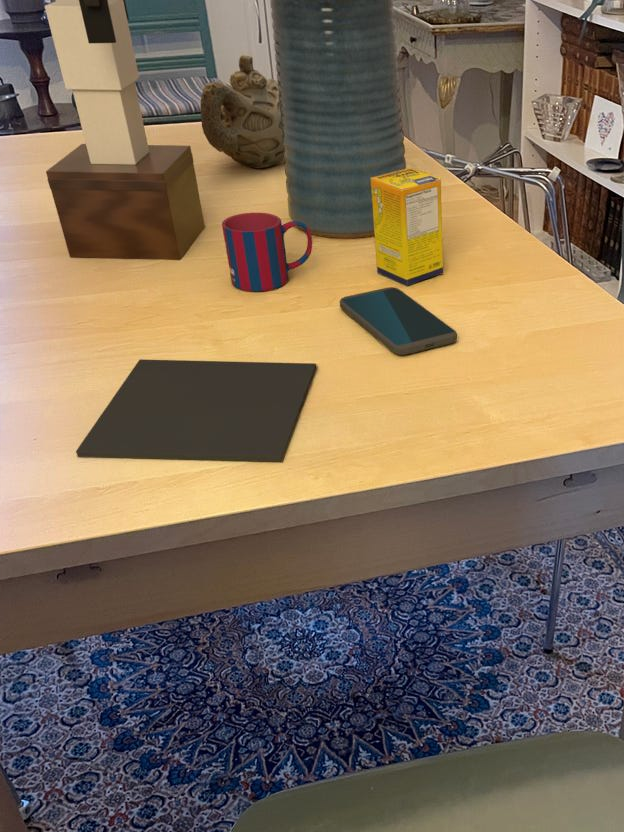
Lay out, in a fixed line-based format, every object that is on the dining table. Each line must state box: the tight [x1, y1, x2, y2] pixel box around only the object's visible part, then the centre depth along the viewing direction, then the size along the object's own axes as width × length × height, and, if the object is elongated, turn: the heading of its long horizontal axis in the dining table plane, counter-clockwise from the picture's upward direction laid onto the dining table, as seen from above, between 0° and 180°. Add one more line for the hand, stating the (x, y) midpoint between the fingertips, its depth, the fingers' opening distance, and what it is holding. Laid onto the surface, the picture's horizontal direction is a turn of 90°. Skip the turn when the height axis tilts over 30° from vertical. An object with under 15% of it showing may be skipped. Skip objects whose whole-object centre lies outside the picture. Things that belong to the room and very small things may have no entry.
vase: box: [269, 0, 407, 239], centre depth 118 cm, size 16×16×32 cm
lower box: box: [71, 80, 149, 165], centre depth 112 cm, size 6×6×8 cm
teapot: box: [199, 54, 284, 169], centre depth 141 cm, size 21×12×15 cm, turn 159°
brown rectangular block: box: [45, 143, 206, 261], centre depth 118 cm, size 14×12×10 cm
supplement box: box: [371, 167, 444, 287], centre depth 110 cm, size 6×6×11 cm
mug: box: [221, 212, 313, 293], centre depth 110 cm, size 7×10×7 cm
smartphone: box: [339, 286, 458, 356], centre depth 102 cm, size 8×15×1 cm, turn 31°
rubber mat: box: [75, 358, 318, 463], centre depth 88 cm, size 18×18×1 cm
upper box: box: [44, 0, 140, 91], centre depth 107 cm, size 6×6×8 cm
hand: (110, 31), depth 104 cm, fingers open, 13 cm apart
